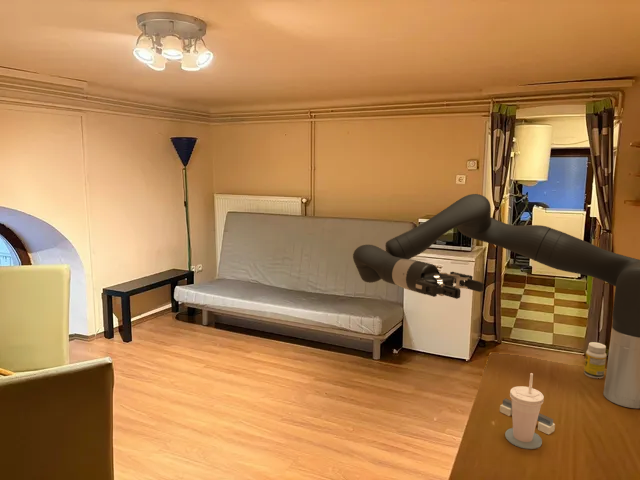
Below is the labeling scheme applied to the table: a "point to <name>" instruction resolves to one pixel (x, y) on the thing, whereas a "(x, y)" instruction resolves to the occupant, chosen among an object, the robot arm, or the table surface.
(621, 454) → the table surface
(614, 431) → the table surface
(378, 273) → the robot arm
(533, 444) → the pad
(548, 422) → the steel bar
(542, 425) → the hurdle stand
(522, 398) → the smoothie
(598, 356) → the supplement bottle
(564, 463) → the table surface
